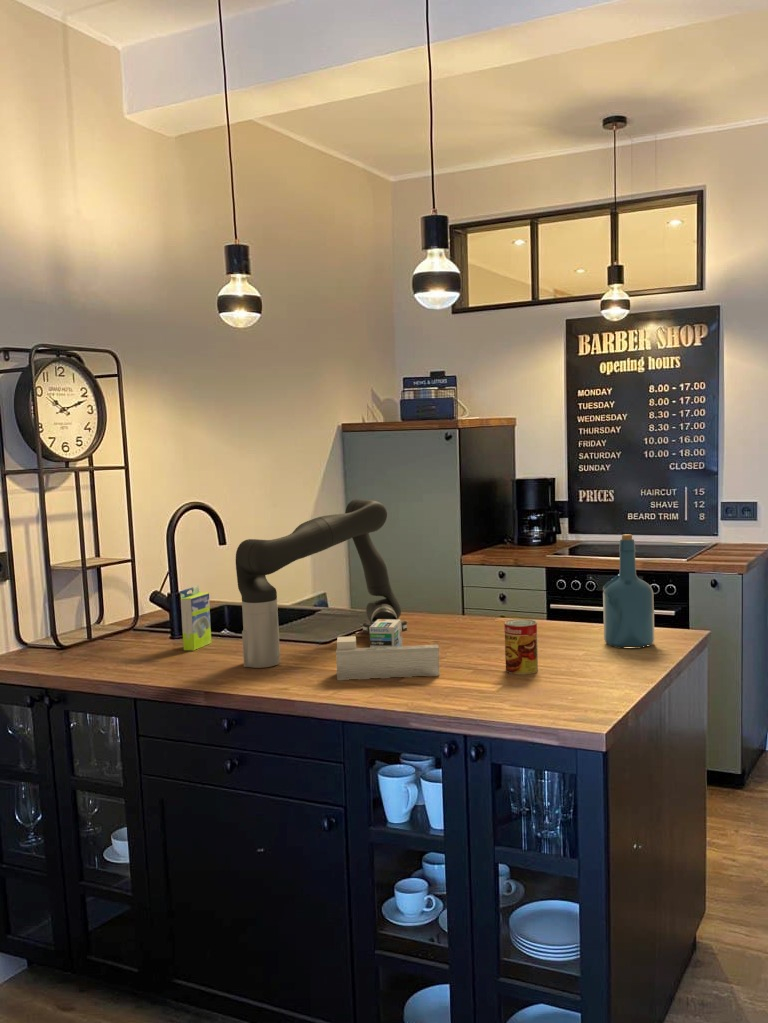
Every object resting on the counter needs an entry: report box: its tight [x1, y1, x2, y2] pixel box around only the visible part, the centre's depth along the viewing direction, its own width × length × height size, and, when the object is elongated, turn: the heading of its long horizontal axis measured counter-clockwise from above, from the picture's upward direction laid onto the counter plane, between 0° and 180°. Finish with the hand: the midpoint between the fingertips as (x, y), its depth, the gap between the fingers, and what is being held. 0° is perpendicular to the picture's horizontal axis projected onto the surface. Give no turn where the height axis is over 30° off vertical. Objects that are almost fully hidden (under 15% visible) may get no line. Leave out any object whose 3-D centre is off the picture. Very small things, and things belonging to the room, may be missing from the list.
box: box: [179, 585, 212, 651], centre depth 265 cm, size 10×4×17 cm, turn 161°
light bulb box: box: [369, 619, 403, 648], centre depth 236 cm, size 11×7×11 cm, turn 168°
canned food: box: [504, 618, 539, 675], centre depth 223 cm, size 8×8×12 cm
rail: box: [335, 644, 440, 681], centre depth 224 cm, size 25×9×7 cm, turn 91°
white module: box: [336, 635, 357, 649], centre depth 226 cm, size 5×6×9 cm
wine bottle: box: [602, 533, 655, 648], centre depth 246 cm, size 14×13×30 cm
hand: (385, 633), depth 245 cm, fingers closed
